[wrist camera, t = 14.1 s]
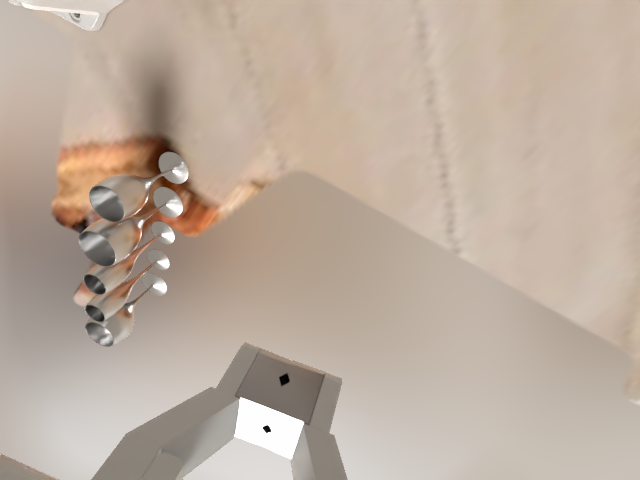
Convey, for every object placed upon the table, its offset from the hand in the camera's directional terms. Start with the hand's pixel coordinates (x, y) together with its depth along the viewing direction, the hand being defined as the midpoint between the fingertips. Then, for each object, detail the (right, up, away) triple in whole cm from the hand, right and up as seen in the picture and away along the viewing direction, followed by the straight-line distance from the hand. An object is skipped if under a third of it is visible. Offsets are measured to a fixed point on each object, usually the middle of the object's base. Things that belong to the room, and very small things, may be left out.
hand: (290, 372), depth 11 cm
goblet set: (-23, +5, +44) cm, 50 cm away
